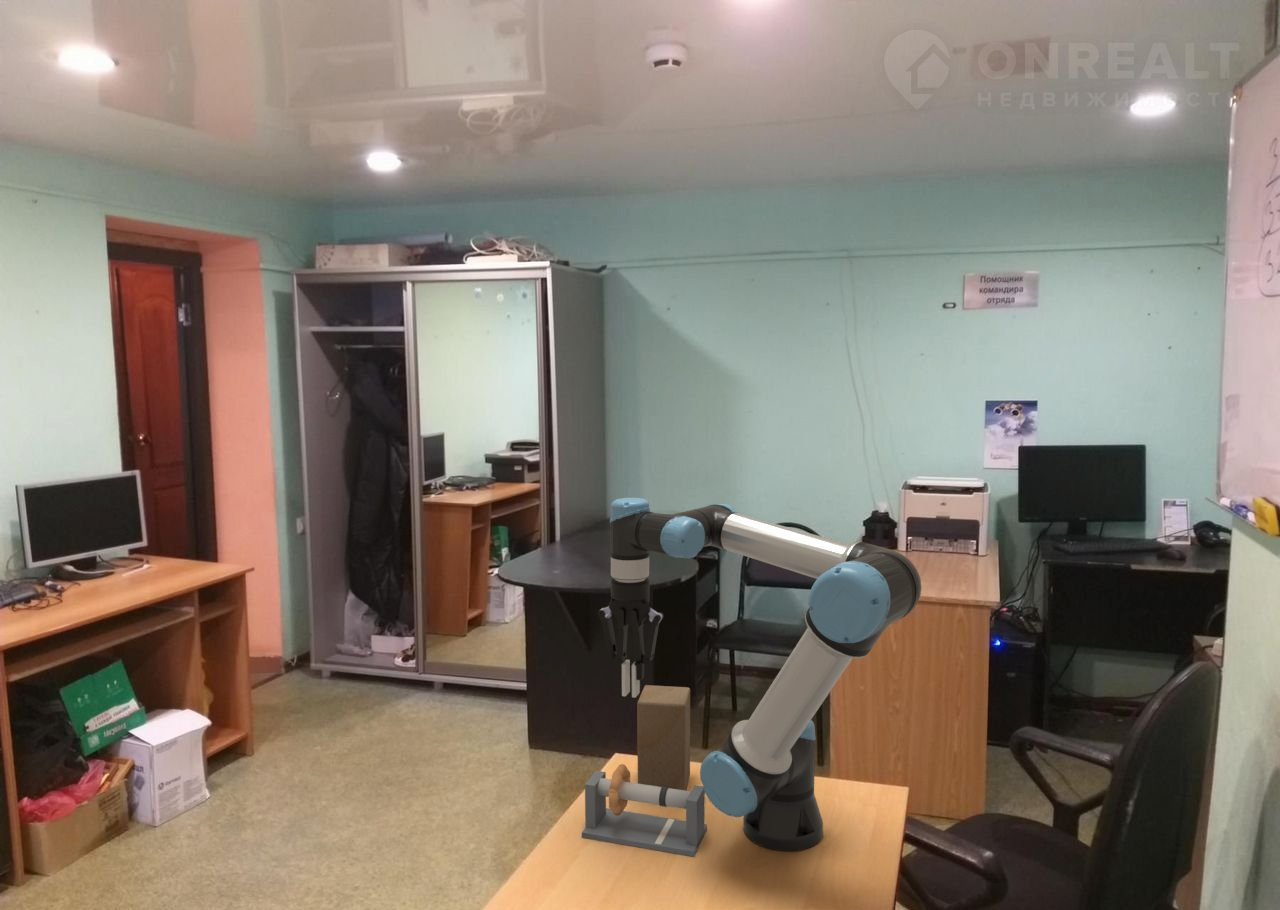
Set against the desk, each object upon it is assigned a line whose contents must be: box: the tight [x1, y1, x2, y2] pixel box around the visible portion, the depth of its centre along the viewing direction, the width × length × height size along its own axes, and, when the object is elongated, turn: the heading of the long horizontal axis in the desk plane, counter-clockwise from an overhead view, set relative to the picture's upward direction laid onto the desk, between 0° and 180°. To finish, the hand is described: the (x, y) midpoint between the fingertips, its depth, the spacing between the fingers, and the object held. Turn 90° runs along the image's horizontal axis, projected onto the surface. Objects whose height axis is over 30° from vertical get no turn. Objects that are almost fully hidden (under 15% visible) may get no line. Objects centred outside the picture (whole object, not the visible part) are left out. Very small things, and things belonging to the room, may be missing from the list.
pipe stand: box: [581, 770, 708, 858], centre depth 171 cm, size 22×10×10 cm, turn 72°
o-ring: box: [608, 763, 631, 816], centre depth 172 cm, size 2×9×9 cm, turn 162°
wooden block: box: [636, 684, 691, 791], centre depth 190 cm, size 10×10×20 cm
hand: (630, 694), depth 177 cm, fingers closed
